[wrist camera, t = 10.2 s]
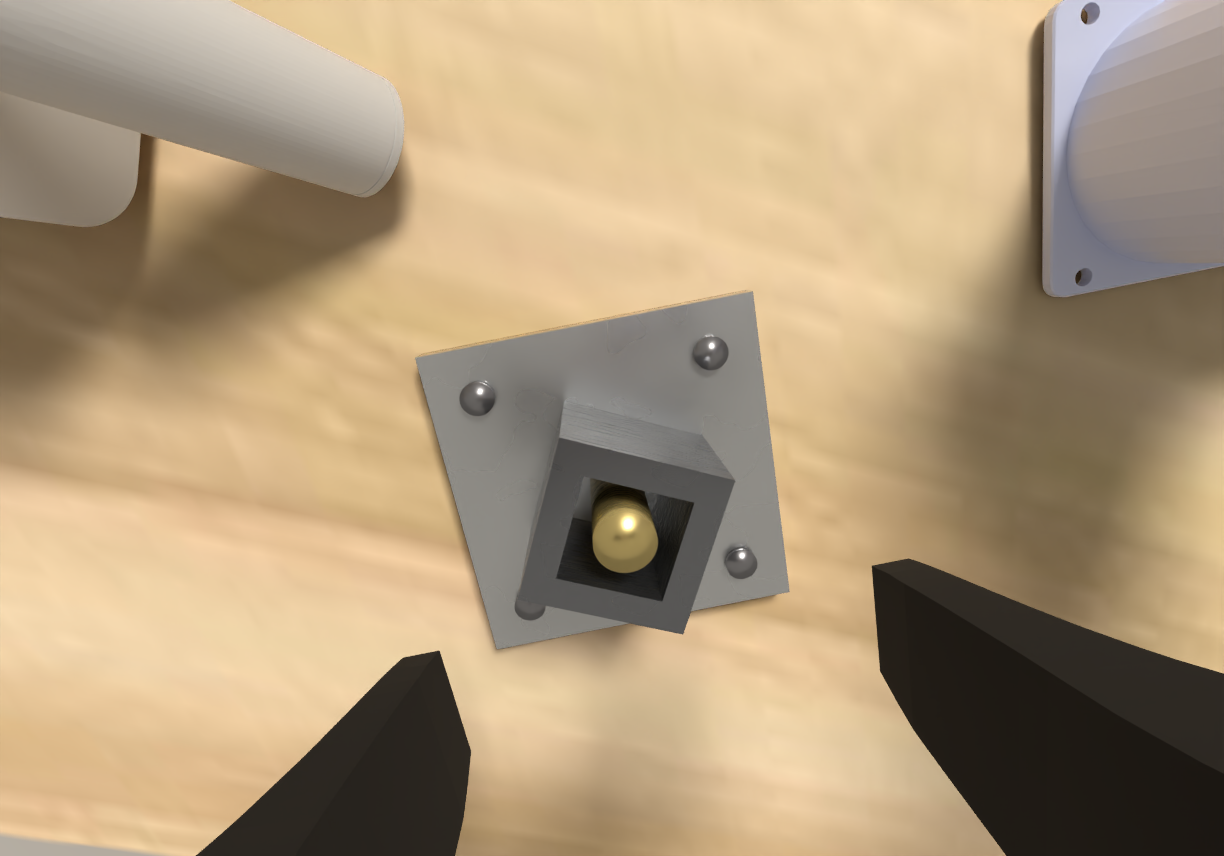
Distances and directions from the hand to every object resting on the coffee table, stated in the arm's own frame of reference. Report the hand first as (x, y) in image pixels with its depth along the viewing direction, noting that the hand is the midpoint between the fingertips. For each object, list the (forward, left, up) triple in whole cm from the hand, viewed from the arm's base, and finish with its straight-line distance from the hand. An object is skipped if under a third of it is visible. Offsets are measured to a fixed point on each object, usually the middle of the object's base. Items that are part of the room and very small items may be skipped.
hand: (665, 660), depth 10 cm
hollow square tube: (0, 0, -9) cm, 9 cm away
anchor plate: (0, 0, -10) cm, 10 cm away
